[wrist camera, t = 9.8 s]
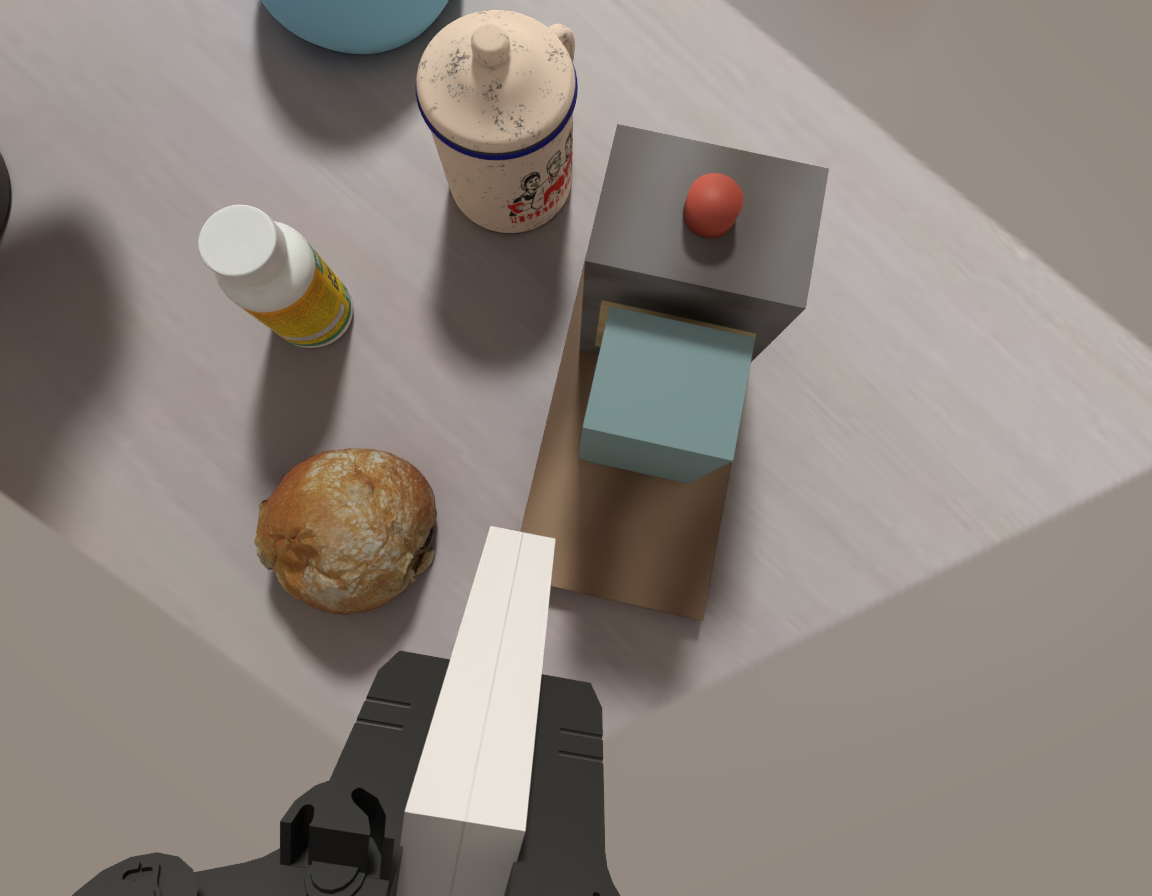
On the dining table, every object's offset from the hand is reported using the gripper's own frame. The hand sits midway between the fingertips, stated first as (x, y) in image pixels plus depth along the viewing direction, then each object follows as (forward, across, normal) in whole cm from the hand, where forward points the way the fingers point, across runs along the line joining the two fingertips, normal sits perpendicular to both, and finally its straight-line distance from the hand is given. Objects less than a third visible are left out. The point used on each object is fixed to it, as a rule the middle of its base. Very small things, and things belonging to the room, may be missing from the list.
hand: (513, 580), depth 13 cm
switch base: (+24, +6, -5) cm, 25 cm away
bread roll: (+20, -10, -14) cm, 27 cm away
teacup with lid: (+35, -5, +9) cm, 36 cm away
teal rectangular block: (+23, +6, -4) cm, 24 cm away
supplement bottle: (+28, -17, -3) cm, 33 cm away
